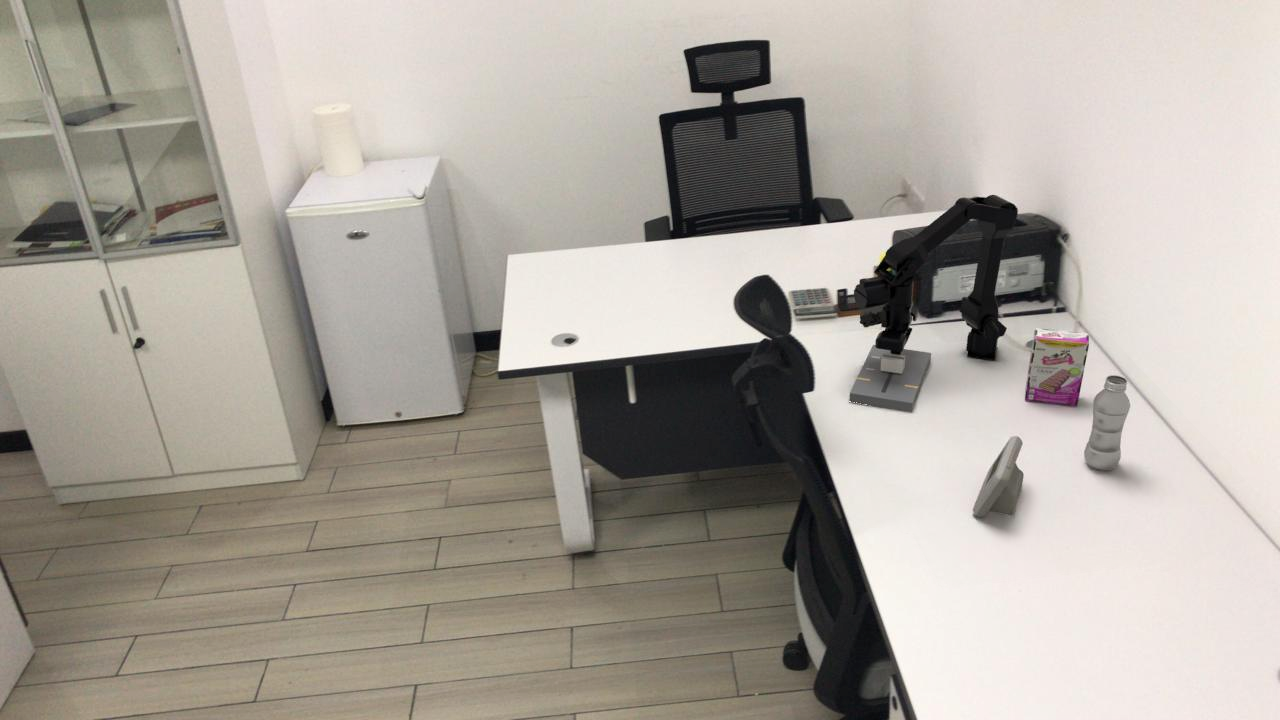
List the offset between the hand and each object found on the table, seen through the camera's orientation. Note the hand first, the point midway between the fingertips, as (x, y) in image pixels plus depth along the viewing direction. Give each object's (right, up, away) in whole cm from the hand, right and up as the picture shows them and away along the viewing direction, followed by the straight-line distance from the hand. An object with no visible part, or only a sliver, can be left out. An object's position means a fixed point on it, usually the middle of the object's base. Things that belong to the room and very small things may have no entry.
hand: (895, 358), depth 236 cm
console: (-1, -5, -1) cm, 6 cm away
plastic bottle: (+33, -22, -34) cm, 52 cm away
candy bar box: (+32, -9, -12) cm, 35 cm away
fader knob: (-1, -2, -2) cm, 3 cm away
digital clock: (+9, -27, -41) cm, 50 cm away
